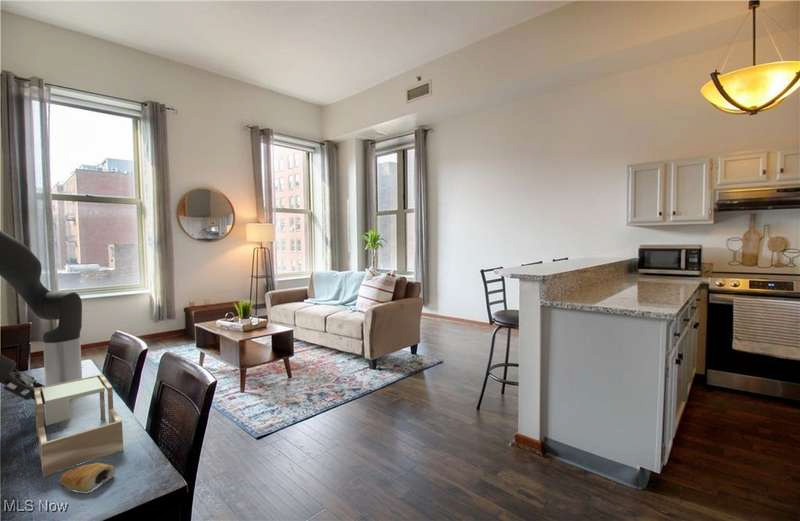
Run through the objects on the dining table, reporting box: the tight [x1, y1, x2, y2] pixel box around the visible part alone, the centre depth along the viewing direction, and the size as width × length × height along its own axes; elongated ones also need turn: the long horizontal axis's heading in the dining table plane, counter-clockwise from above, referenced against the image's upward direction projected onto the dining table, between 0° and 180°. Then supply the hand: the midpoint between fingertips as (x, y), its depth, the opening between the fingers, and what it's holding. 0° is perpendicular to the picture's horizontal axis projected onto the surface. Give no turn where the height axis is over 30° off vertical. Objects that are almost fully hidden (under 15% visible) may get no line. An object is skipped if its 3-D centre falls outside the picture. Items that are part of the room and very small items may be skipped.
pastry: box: [59, 462, 116, 492], centre depth 76 cm, size 9×7×4 cm
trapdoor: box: [42, 377, 106, 405], centre depth 95 cm, size 11×11×1 cm
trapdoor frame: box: [34, 374, 124, 478], centre depth 91 cm, size 24×14×12 cm, turn 47°
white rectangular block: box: [43, 399, 71, 426], centre depth 104 cm, size 5×5×8 cm
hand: (48, 396), depth 102 cm, fingers open, 8 cm apart
